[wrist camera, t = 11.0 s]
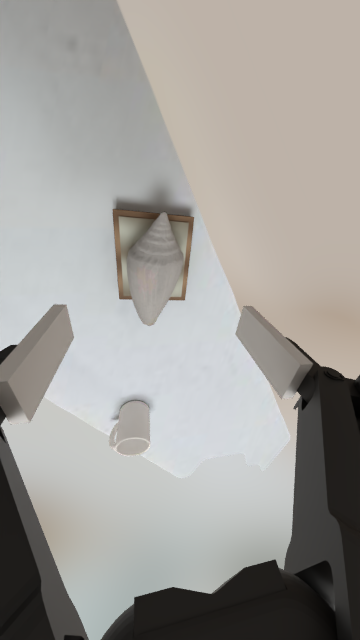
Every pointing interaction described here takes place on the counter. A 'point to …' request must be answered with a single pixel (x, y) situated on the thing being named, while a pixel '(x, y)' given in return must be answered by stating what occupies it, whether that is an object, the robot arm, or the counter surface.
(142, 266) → the seashell
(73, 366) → the counter surface
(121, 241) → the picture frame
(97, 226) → the counter surface
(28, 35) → the counter surface
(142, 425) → the mug
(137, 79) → the counter surface
